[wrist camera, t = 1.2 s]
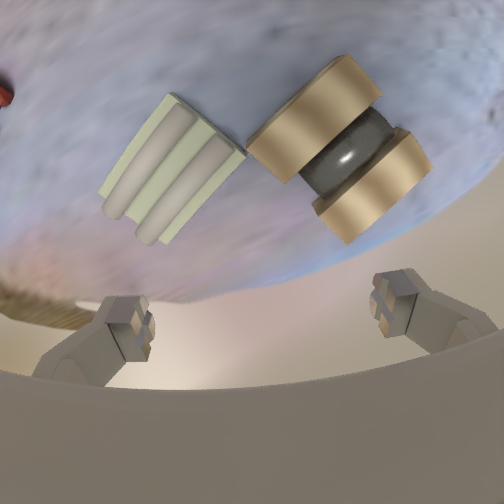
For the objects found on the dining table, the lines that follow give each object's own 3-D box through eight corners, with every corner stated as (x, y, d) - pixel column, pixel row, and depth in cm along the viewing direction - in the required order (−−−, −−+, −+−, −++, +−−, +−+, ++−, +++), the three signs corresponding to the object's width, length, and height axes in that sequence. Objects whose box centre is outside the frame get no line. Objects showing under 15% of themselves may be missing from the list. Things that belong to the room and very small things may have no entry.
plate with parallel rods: (172, 92, 31) (161, 94, 26) (246, 153, 35) (246, 164, 31) (103, 187, 37) (88, 201, 32) (169, 237, 41) (161, 257, 37)
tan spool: (337, 56, 29) (348, 53, 25) (418, 159, 35) (433, 167, 32) (245, 142, 34) (246, 149, 31) (338, 231, 41) (347, 245, 38)
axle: (360, 104, 32) (376, 107, 28) (384, 132, 34) (401, 139, 29) (294, 165, 36) (300, 176, 32) (320, 191, 38) (329, 205, 34)
